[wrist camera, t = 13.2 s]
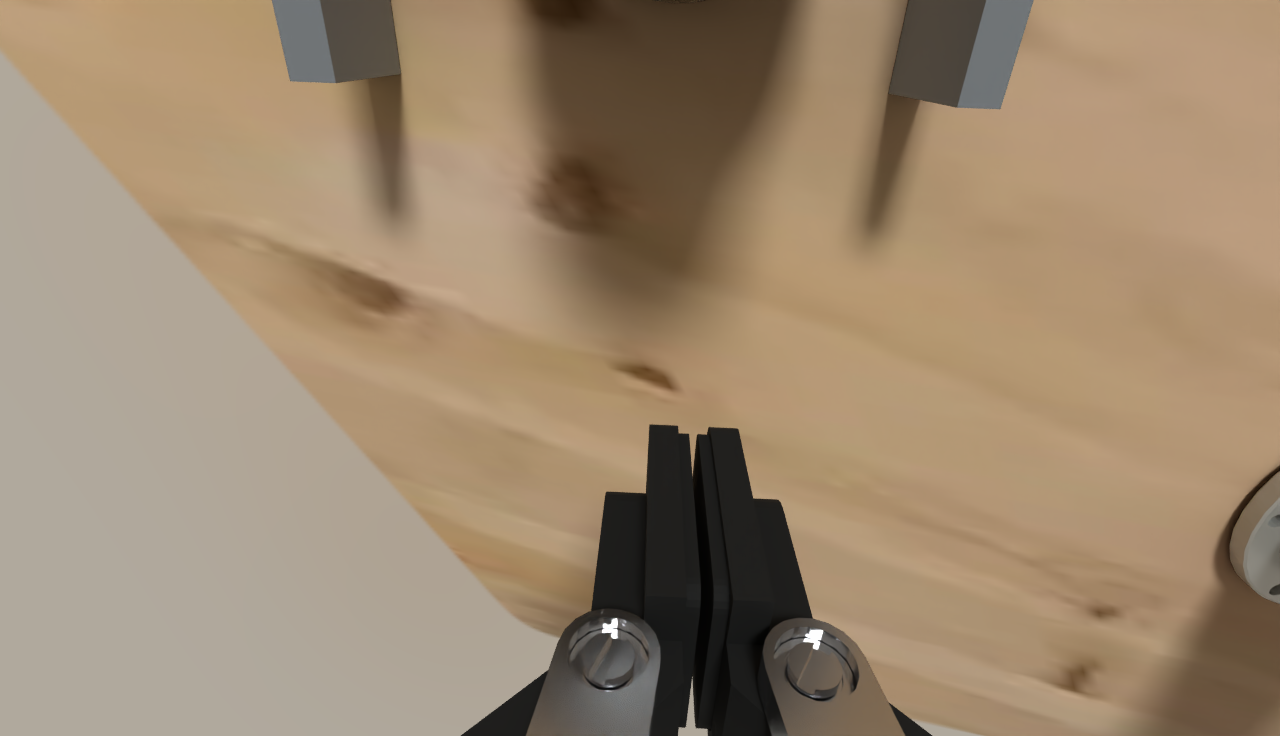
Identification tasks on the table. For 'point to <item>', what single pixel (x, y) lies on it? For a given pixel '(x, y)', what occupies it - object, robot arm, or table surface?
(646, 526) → the robot arm
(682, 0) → the ink bottle
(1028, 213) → the table surface
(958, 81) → the bin
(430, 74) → the table surface
